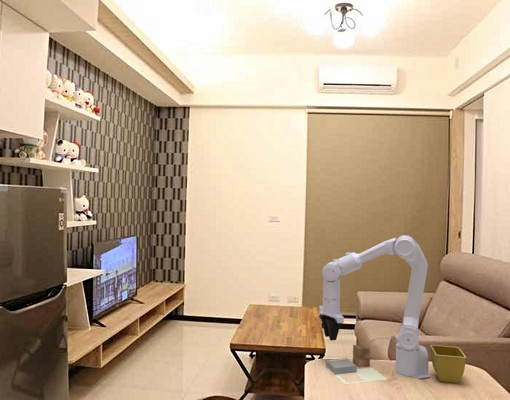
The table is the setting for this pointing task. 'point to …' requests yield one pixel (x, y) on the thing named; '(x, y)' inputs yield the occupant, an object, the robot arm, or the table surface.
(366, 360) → the walnut block
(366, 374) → the puzzle board
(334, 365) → the sliding cover
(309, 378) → the table surface
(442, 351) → the flower pot
